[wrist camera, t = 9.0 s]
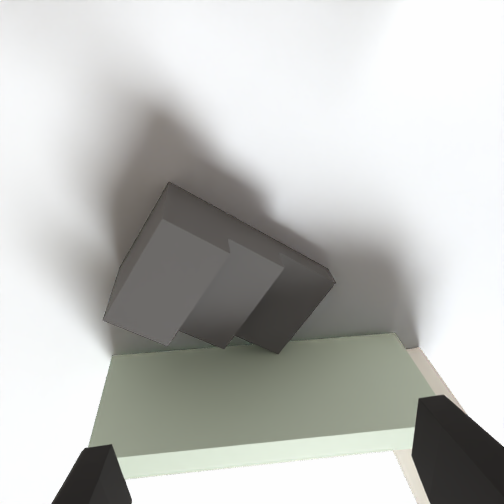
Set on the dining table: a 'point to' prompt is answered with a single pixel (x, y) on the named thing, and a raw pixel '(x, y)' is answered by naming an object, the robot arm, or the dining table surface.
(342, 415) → the door
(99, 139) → the dining table surface
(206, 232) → the grey stepped block
